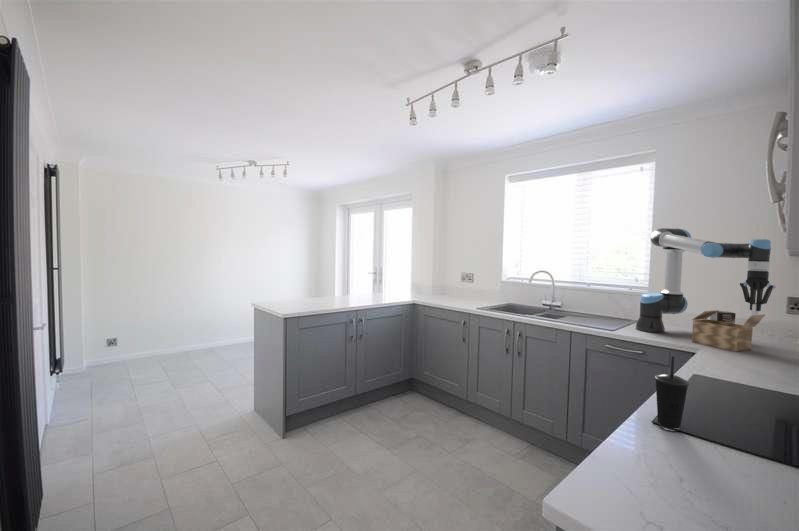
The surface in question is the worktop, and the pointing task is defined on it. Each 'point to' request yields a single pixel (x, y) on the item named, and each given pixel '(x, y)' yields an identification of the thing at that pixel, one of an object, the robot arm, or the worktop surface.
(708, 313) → the flap
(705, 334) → the carton
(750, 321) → the flap
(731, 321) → the coffee box
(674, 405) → the drinking cup
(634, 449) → the worktop surface
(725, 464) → the worktop surface
